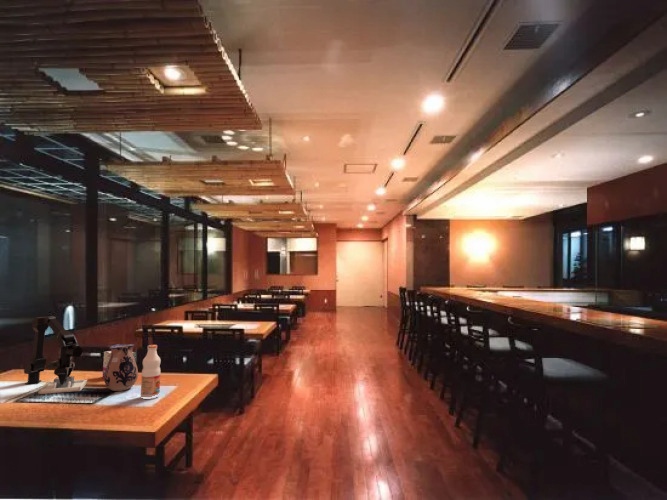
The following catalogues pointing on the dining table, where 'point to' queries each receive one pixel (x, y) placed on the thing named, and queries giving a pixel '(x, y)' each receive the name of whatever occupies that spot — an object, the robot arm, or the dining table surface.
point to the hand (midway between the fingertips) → (63, 382)
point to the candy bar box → (106, 360)
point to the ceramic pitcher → (121, 368)
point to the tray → (51, 388)
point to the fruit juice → (151, 373)
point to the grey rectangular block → (65, 384)
